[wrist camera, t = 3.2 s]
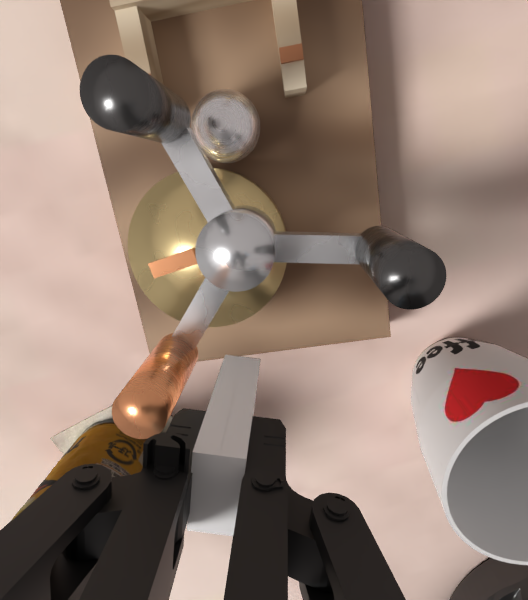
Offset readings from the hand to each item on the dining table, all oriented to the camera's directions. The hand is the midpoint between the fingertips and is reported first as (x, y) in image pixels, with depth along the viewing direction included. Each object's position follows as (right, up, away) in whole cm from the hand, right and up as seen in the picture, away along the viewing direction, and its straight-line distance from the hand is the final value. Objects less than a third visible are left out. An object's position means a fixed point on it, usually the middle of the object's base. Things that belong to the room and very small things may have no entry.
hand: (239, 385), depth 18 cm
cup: (+13, -1, +9) cm, 16 cm away
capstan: (0, +8, +4) cm, 9 cm away
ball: (-1, +12, +3) cm, 13 cm away
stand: (0, +12, +6) cm, 13 cm away
